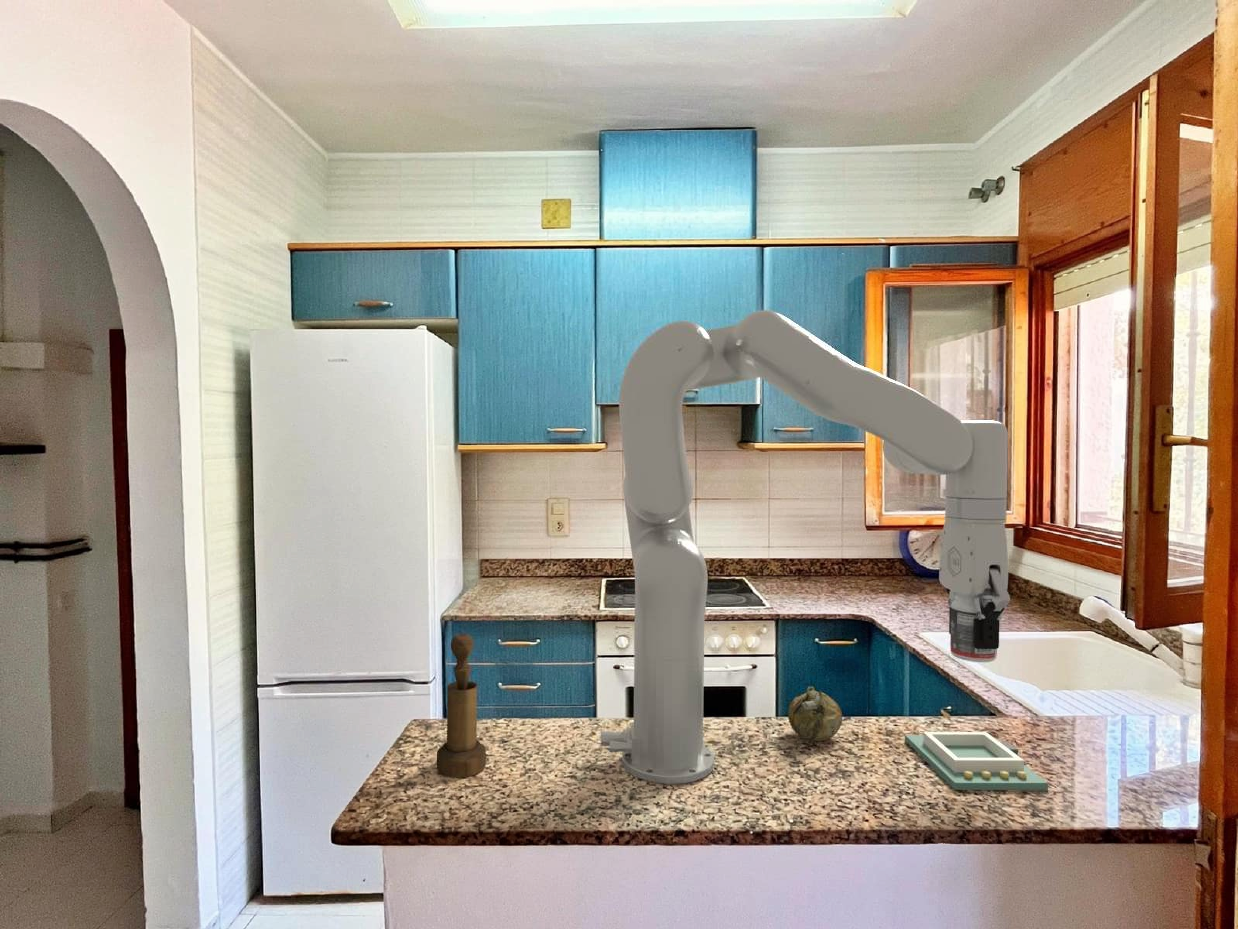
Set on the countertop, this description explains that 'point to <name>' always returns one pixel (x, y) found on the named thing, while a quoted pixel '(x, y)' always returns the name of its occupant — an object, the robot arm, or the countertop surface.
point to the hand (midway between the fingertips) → (973, 640)
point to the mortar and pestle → (461, 719)
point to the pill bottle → (967, 631)
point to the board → (975, 761)
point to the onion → (815, 716)
